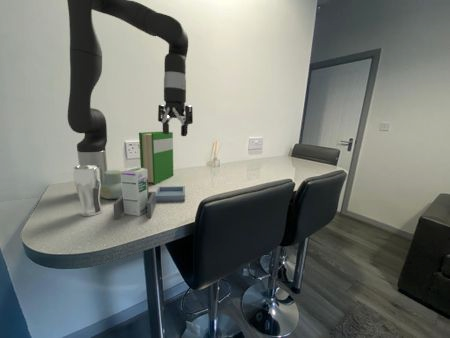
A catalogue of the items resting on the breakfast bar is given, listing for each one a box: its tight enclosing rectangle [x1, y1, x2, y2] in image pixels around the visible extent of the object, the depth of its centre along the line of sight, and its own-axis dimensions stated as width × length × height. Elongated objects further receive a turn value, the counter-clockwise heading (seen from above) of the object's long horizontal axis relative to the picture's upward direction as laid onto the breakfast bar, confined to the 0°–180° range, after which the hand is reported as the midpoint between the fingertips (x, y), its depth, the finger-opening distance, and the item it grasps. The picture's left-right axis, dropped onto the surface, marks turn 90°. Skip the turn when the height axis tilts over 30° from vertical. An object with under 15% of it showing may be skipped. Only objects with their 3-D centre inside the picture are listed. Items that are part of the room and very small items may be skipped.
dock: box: [112, 191, 157, 220], centre depth 66 cm, size 10×10×5 cm
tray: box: [155, 185, 186, 203], centre depth 81 cm, size 11×11×2 cm
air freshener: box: [100, 169, 123, 200], centre depth 77 cm, size 11×8×10 cm
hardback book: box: [138, 131, 174, 185], centre depth 102 cm, size 18×7×24 cm, turn 166°
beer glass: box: [73, 165, 104, 217], centre depth 63 cm, size 7×7×15 cm
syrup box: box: [120, 166, 150, 217], centre depth 65 cm, size 6×6×14 cm
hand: (174, 135), depth 74 cm, fingers open, 8 cm apart
